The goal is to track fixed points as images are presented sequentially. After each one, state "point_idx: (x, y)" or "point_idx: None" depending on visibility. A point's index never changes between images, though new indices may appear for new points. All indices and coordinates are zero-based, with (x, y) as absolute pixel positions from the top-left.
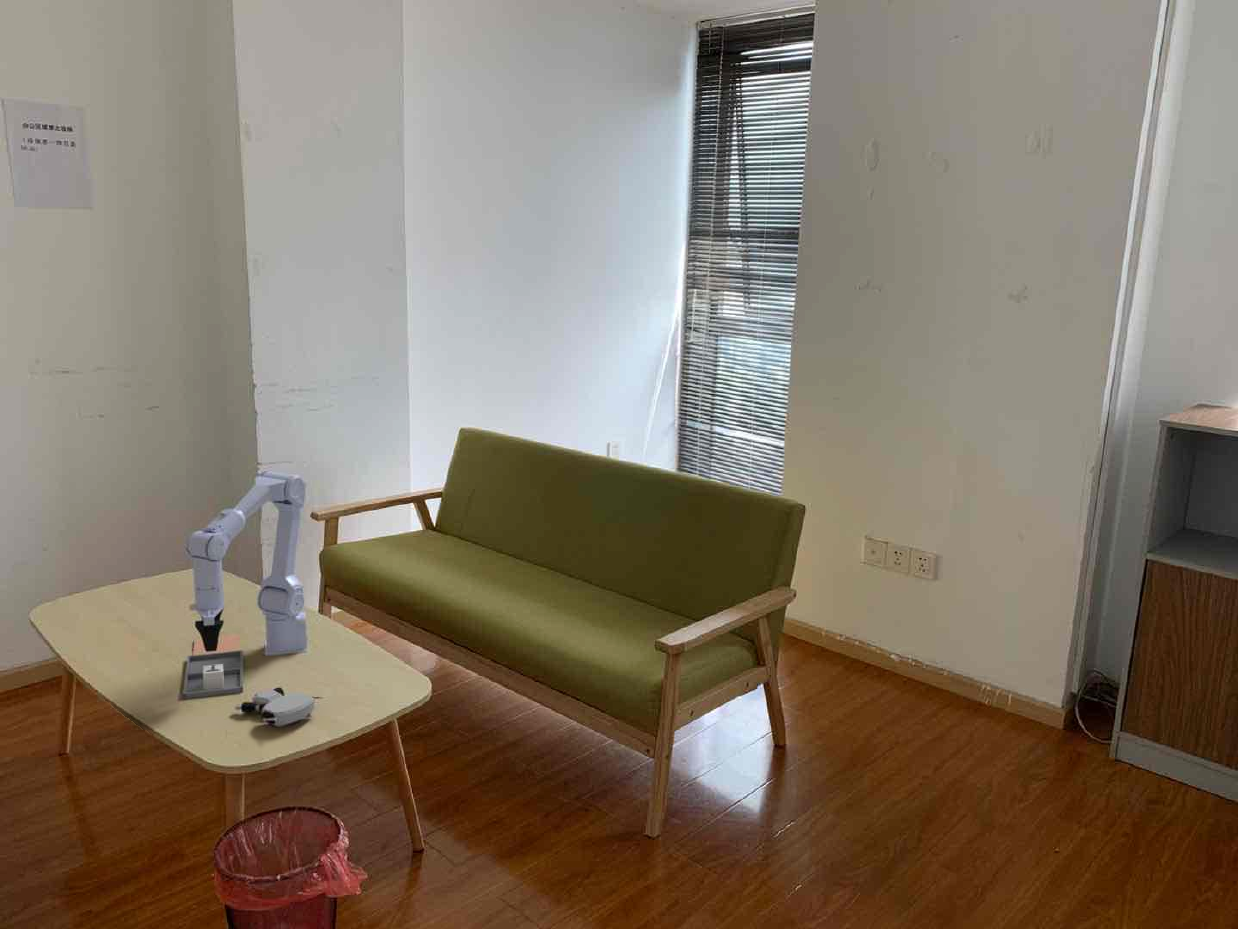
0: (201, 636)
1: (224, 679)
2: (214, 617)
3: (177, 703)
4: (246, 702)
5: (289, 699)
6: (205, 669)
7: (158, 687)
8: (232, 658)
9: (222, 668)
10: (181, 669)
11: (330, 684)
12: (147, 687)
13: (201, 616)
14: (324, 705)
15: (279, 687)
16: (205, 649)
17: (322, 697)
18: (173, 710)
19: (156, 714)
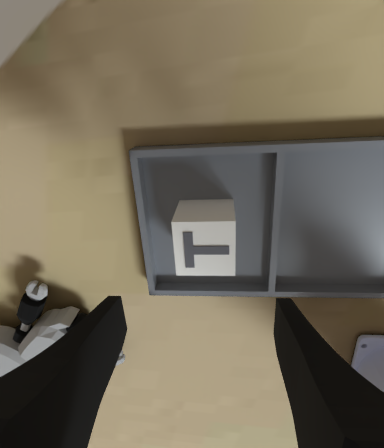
0: (36, 355)
1: (238, 248)
2: (303, 434)
3: (121, 131)
4: (28, 311)
5: None
6: (203, 228)
7: (251, 51)
8: (380, 265)
9: (199, 274)
10: (378, 117)
11: (167, 416)
12: (263, 5)
13: (317, 394)
14: None
15: None
16: (102, 302)
17: None
18: (78, 124)
19: (55, 75)
